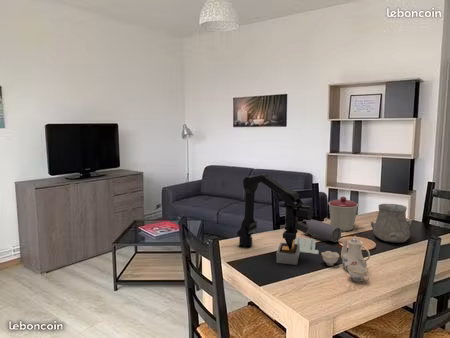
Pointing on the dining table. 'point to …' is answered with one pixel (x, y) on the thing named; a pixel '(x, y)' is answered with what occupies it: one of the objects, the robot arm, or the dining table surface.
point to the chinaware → (350, 258)
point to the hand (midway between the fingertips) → (290, 246)
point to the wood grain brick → (286, 248)
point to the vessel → (392, 223)
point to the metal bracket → (307, 245)
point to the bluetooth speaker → (323, 231)
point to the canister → (343, 213)
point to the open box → (287, 255)
